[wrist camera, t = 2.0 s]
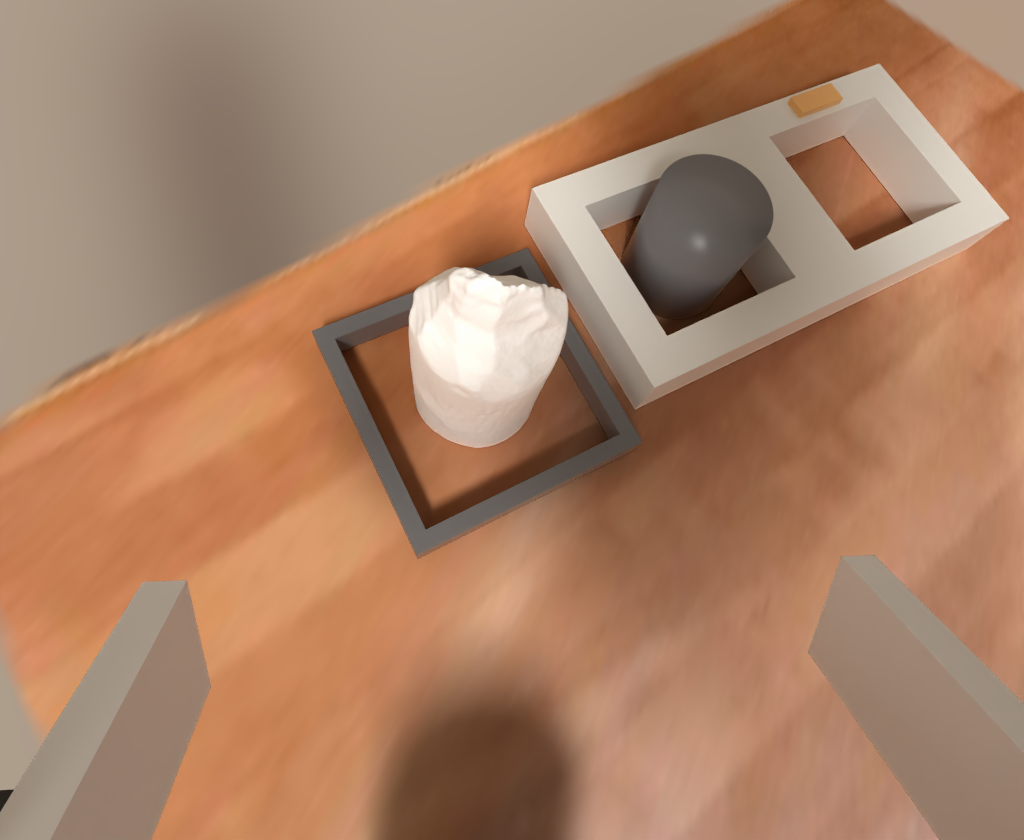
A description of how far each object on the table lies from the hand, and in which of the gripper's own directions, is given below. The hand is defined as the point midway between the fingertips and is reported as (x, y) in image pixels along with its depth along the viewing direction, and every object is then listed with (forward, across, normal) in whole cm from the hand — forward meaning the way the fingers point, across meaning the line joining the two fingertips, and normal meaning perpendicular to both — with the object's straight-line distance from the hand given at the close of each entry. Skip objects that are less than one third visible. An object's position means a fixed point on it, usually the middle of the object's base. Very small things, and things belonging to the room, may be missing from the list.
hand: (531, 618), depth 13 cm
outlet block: (+25, +16, +4) cm, 30 cm away
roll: (+19, 0, -3) cm, 19 cm away
